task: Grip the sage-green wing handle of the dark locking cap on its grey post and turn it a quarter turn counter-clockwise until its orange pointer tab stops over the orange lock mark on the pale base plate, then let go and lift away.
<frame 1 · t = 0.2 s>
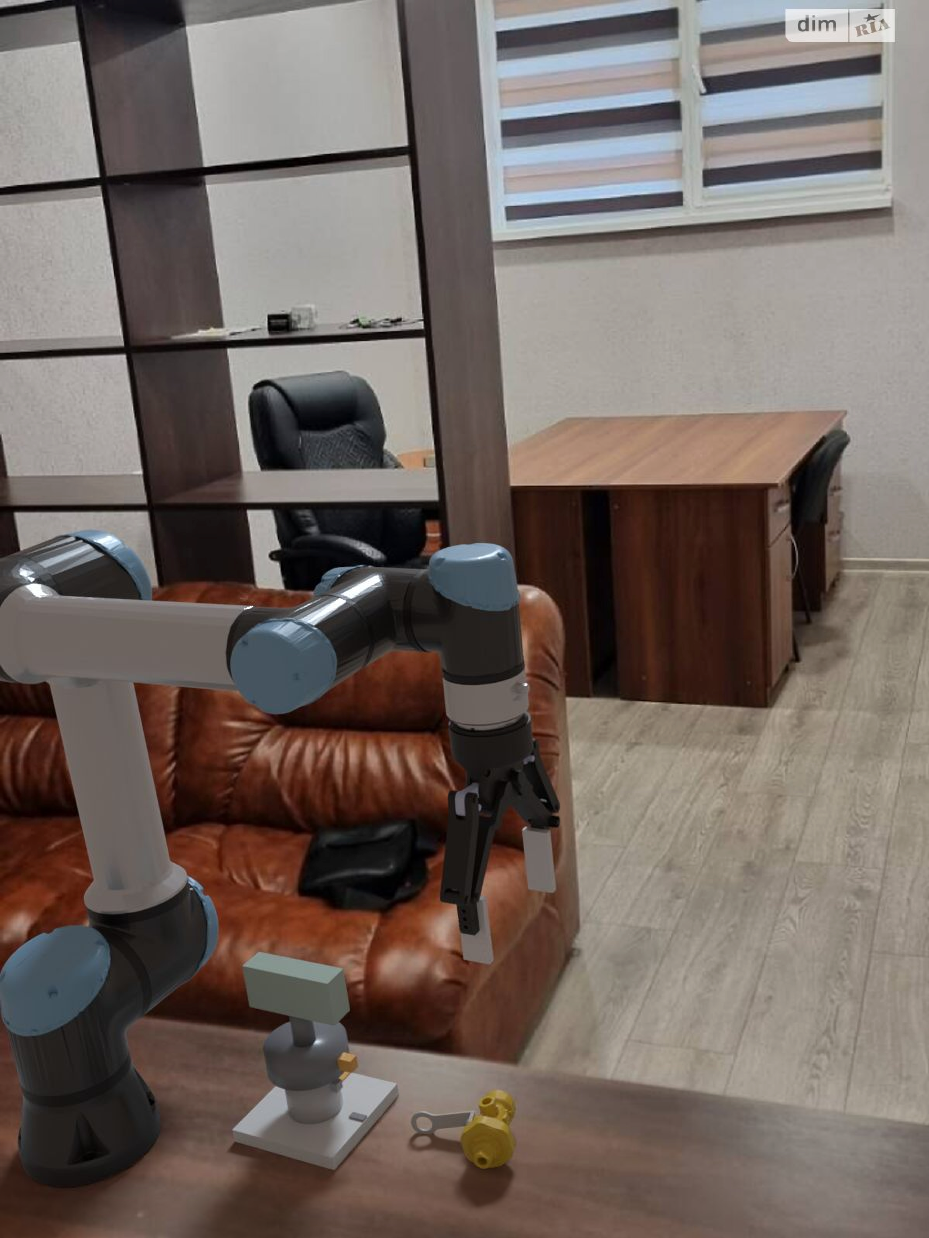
hand: (511, 923, 129), 28 cm above the table, tool pointing down, fingers open, 13 cm apart
locking cap: (302, 1016, 145), point 13 cm above the table, hinge at 0.0°
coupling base: (317, 1117, 149), on the table
pressure relief valve: (463, 1151, 141), on the table
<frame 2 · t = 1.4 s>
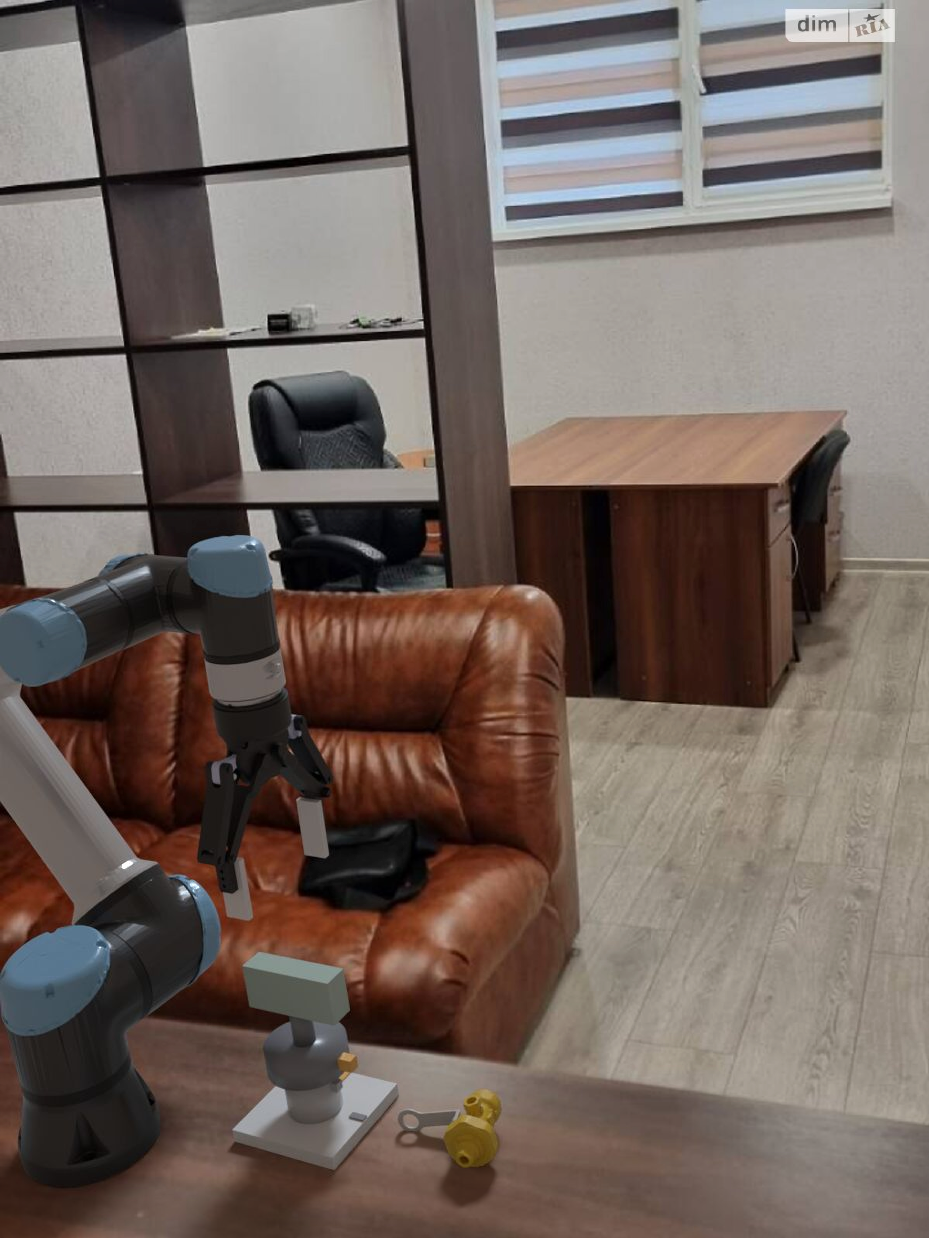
hand: (280, 885, 141), 28 cm above the table, tool pointing down, fingers open, 13 cm apart
pressure relief valve: (448, 1149, 142), on the table
everything else where it was.
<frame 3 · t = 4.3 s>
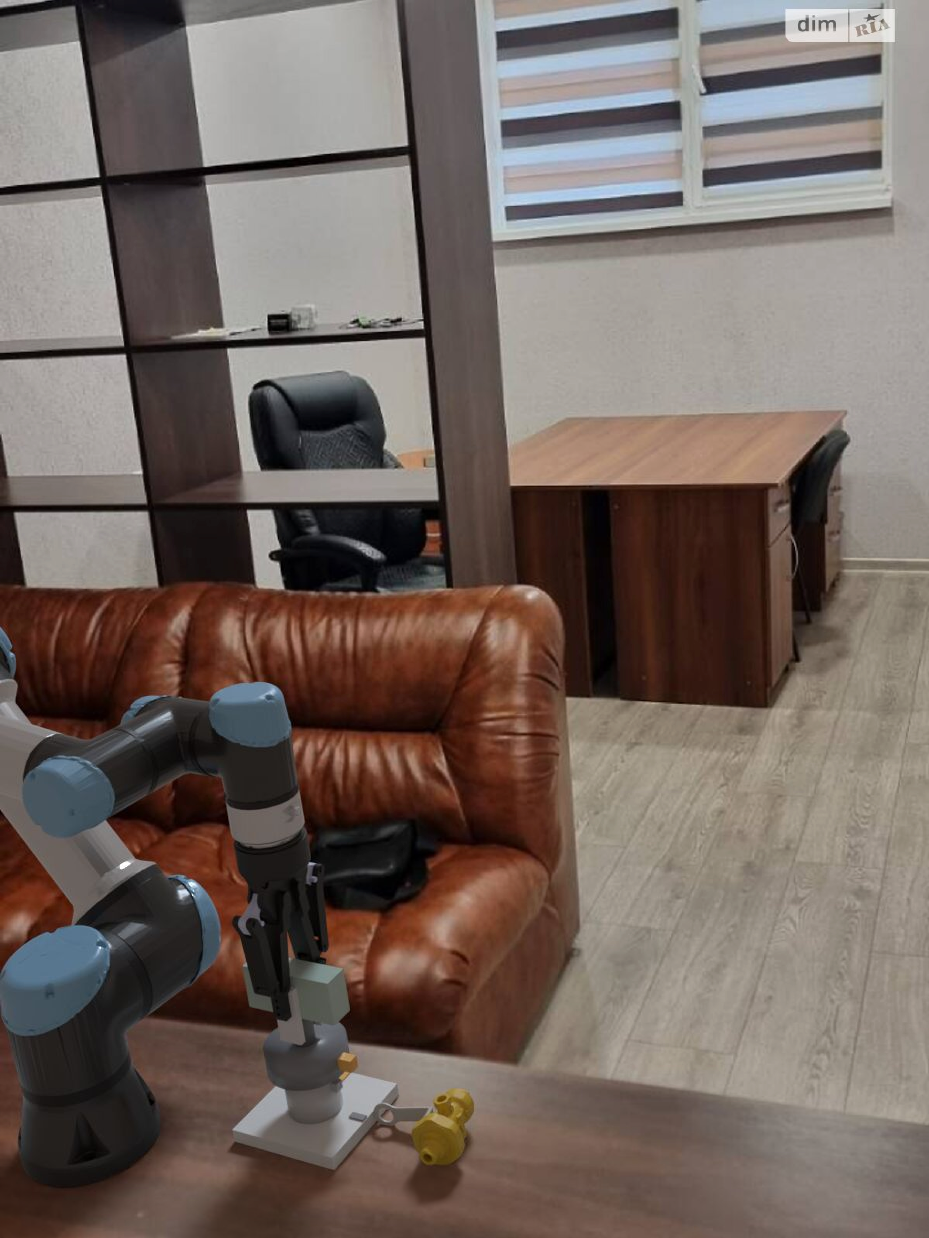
hand: (303, 1030, 146), 11 cm above the table, tool pointing down, fingers closed on locking cap, 3 cm apart
locking cap: (302, 1016, 145), point 13 cm above the table, hinge at 0.0°, touching gripper
pressure relief valve: (419, 1145, 143), on the table
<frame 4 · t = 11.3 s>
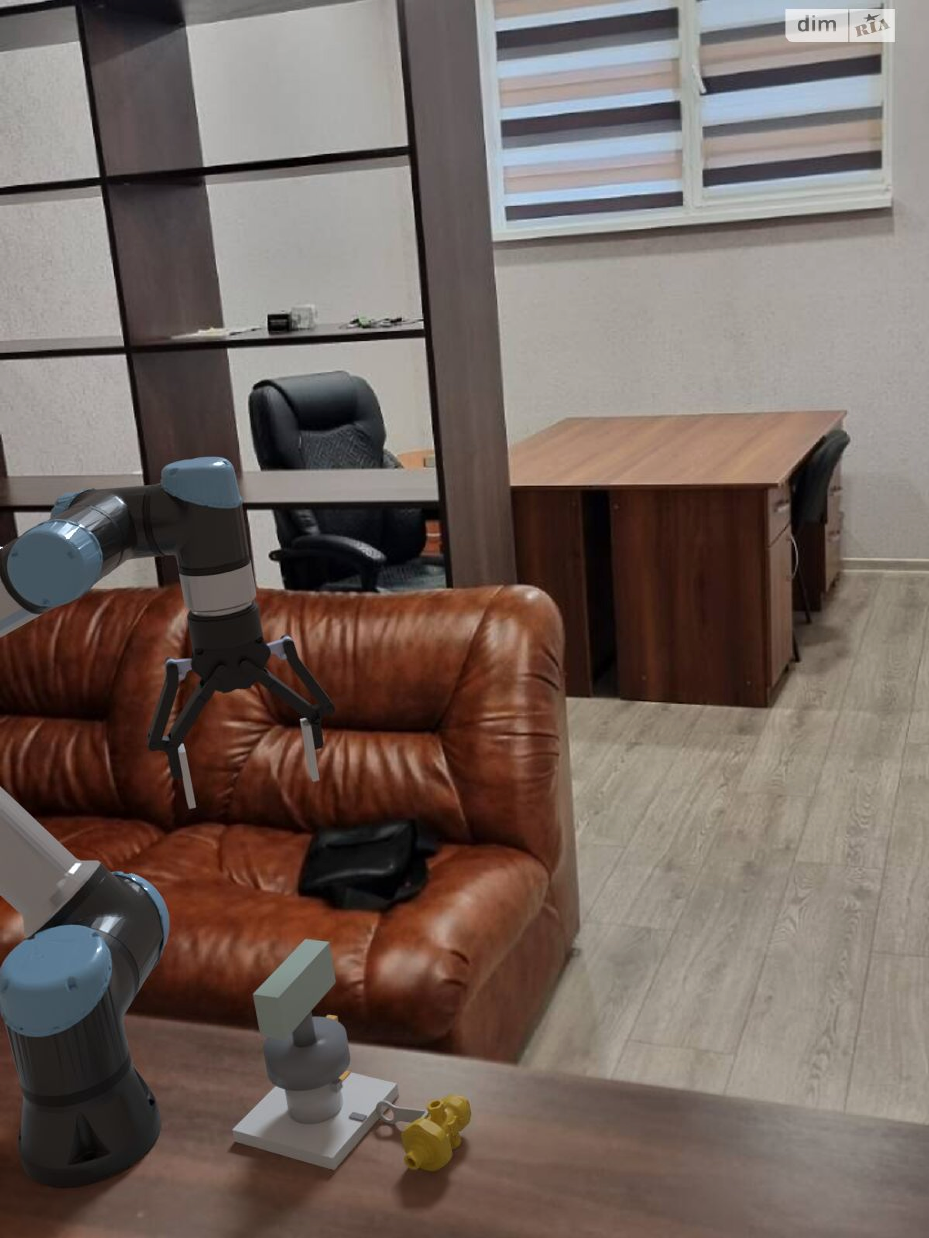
hand: (253, 790, 149), 35 cm above the table, tool pointing down, fingers open, 13 cm apart
locking cap: (302, 1014, 145), point 13 cm above the table, hinge at 95.3°
pressure relief valve: (414, 1147, 143), on the table, touching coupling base
at the end: locking cap at +95° (first picture: +0°); the gripper is holding nothing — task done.
